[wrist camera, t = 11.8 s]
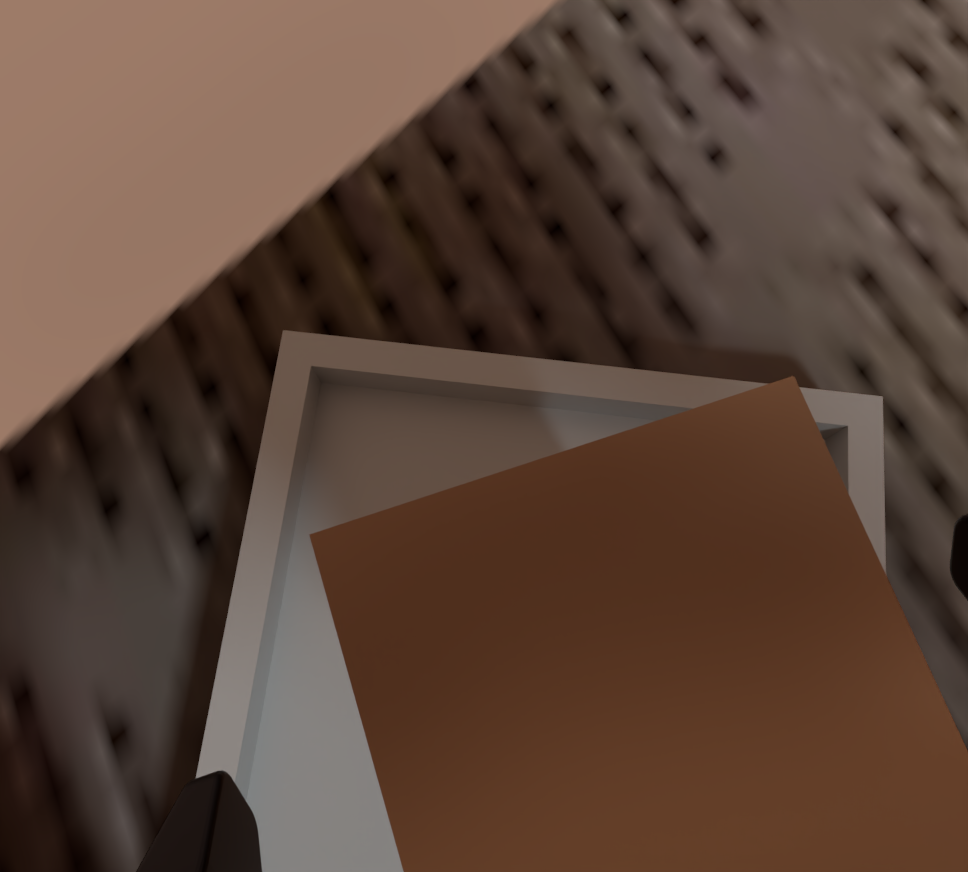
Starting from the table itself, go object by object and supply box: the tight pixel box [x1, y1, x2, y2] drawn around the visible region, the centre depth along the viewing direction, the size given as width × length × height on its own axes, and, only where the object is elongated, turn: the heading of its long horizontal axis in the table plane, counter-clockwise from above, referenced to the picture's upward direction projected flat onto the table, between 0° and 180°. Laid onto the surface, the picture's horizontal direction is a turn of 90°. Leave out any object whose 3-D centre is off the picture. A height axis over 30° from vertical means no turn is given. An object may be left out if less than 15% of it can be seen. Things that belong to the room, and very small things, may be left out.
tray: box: [196, 330, 886, 872], centre depth 17 cm, size 14×14×2 cm
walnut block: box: [309, 376, 968, 872], centre depth 12 cm, size 5×5×11 cm
